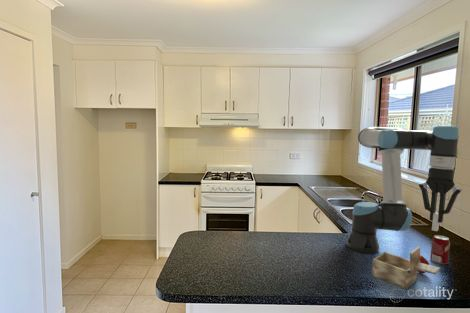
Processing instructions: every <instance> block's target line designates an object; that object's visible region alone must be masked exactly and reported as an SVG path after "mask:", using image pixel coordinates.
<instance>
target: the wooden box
mask: <svg viewBox="0 0 470 313" xmlns="http://www.w3.org/2000/svg"><path fill="white" fill-rule="evenodd" d="M371 267H372V268H371V276H372V277H374V278H377V279H379V280H382V281H384V282H387V283H390V284H391V285H394V286H397V287H400V288H402V289H404V288H405V289H404V290H408V289H409V288H410V287H411V286H412V285H413V284H414V283H415V282H416V281H417V280H418V273H419V272H418V270H416V269H414V270H413V271H412V272H411V271H410V259H408V258H405V257H402V256H398V255H396V254H392V253H389V252H388V251H387V252H386V251H384V252H382V253H380V254H379V255H377V256H376V257H374V258H373V259H372V266H371ZM413 282H414V283H413ZM412 283H413V284H412ZM411 284H412V285H411ZM409 286H410V287H409ZM408 287H409V288H408ZM407 288H408V289H407Z"/></svg>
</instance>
